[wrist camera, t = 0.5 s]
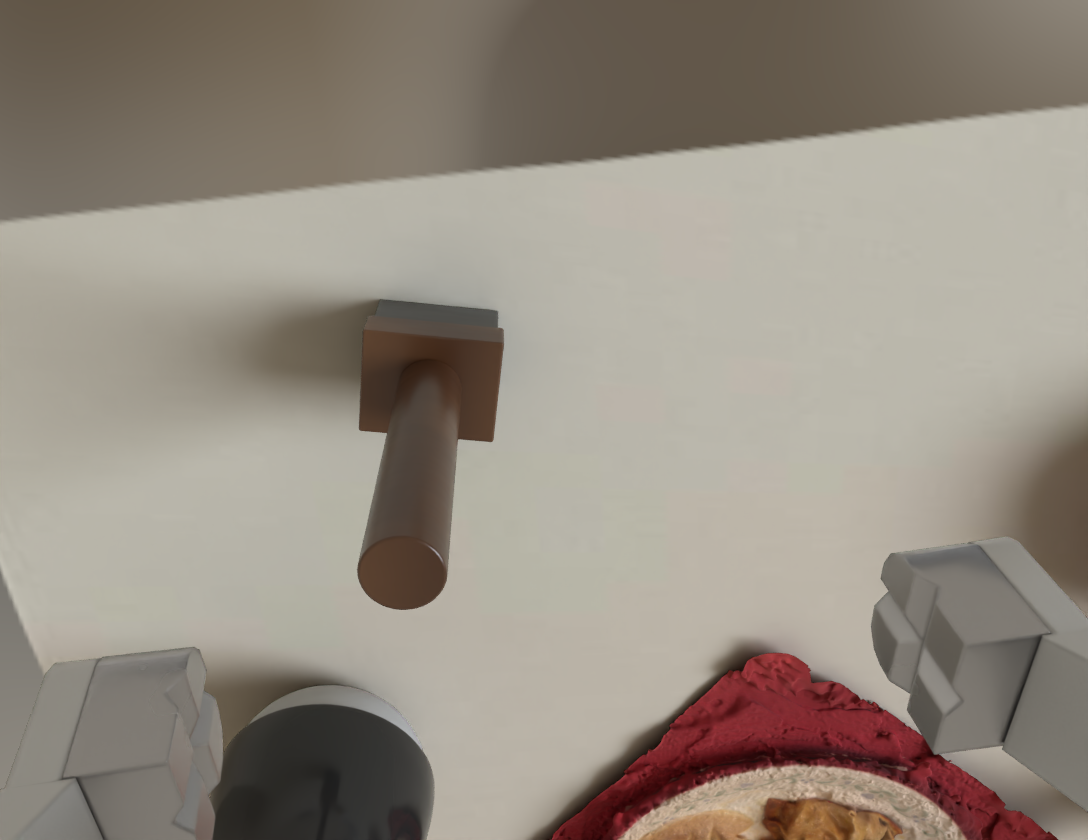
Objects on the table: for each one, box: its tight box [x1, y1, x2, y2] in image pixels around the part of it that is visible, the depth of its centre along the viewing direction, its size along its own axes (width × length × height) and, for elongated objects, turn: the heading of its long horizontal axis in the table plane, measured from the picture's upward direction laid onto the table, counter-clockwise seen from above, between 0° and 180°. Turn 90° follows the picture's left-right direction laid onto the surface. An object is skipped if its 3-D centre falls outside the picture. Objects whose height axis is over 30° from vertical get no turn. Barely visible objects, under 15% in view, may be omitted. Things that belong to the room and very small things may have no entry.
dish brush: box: [357, 300, 504, 610], centre depth 33 cm, size 5×4×16 cm
